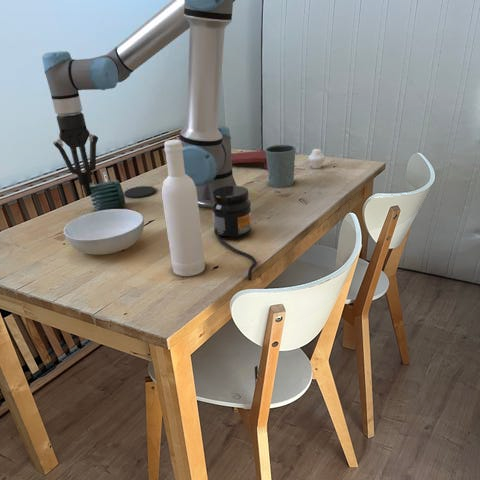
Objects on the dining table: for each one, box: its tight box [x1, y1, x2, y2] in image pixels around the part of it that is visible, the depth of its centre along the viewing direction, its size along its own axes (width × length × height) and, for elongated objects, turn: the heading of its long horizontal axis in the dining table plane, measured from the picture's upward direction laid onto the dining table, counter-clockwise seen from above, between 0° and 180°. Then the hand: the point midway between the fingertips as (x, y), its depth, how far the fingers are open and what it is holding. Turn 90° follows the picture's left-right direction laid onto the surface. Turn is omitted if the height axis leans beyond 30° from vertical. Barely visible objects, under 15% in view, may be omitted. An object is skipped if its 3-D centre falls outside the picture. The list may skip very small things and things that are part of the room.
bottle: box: [161, 139, 206, 277], centre depth 110 cm, size 8×8×30 cm
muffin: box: [308, 148, 326, 170], centre depth 181 cm, size 6×6×7 cm
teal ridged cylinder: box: [89, 179, 126, 212], centre depth 155 cm, size 9×8×8 cm
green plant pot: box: [264, 144, 297, 188], centre depth 166 cm, size 10×10×12 cm
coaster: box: [123, 185, 157, 199], centre depth 169 cm, size 11×11×1 cm
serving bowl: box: [62, 208, 145, 256], centre depth 130 cm, size 21×21×7 cm
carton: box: [231, 149, 268, 170], centre depth 192 cm, size 12×5×25 cm
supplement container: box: [211, 185, 253, 241], centre depth 132 cm, size 10×10×12 cm
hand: (88, 194), depth 151 cm, fingers closed
